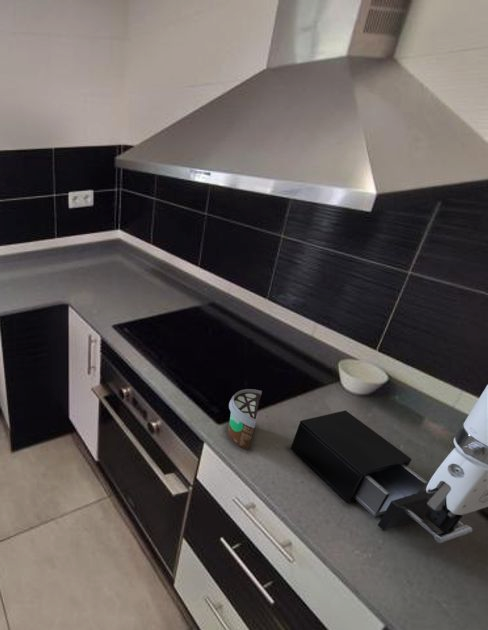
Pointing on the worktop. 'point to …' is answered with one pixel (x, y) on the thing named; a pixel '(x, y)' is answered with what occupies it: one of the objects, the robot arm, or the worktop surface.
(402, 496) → the drawer
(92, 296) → the worktop surface
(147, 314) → the worktop surface
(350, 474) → the mini drawer cabinet
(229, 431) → the food container
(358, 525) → the worktop surface
